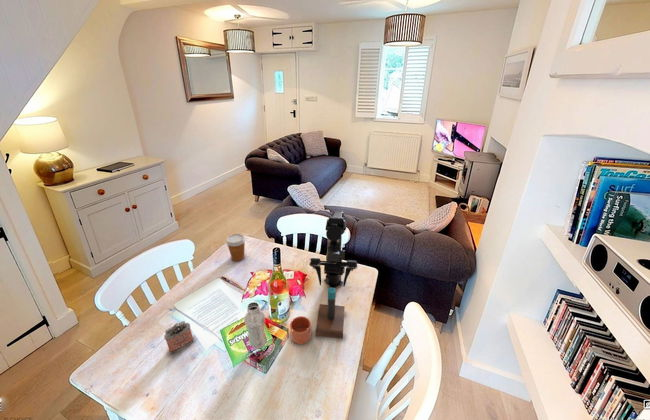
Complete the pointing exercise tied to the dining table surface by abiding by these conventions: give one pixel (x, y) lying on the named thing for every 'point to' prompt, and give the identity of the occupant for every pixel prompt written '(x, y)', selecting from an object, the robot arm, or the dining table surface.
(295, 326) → the pen cup
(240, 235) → the disposable coffee cup
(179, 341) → the broken red brick
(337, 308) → the shelf
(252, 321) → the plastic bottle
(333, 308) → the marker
